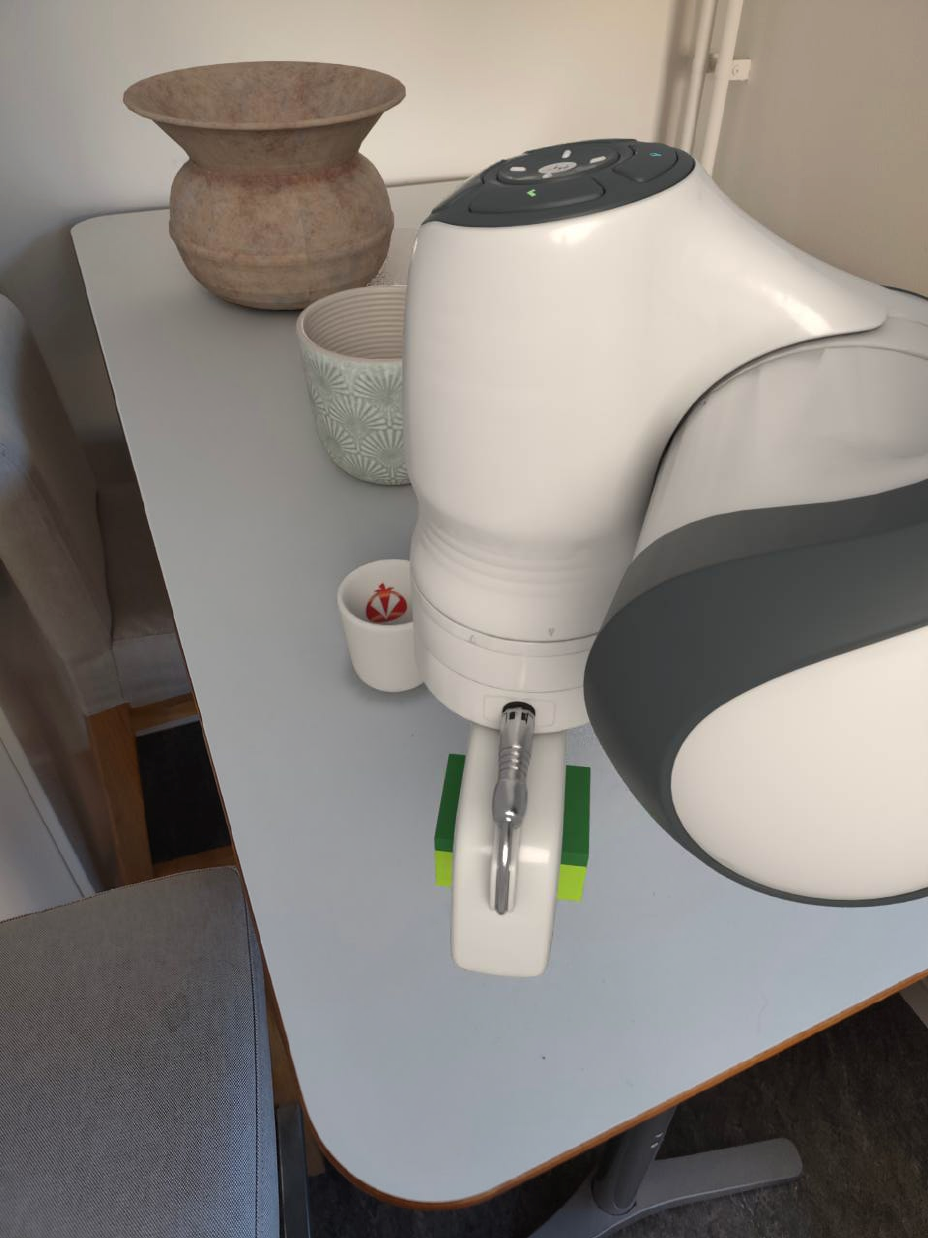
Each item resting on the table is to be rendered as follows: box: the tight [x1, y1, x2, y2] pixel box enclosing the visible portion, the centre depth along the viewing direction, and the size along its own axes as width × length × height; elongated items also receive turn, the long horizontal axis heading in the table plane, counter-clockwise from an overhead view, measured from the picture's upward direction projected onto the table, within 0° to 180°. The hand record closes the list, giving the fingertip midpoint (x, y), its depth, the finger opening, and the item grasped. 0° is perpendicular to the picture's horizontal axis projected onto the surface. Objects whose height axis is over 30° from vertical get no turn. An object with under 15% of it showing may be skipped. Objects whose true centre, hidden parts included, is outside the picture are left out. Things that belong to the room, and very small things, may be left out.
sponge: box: [433, 753, 592, 902], centre depth 42 cm, size 7×5×4 cm
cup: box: [336, 558, 425, 693], centre depth 66 cm, size 11×8×8 cm
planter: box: [295, 284, 411, 486], centre depth 85 cm, size 17×17×15 cm
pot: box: [122, 60, 407, 311], centre depth 115 cm, size 34×34×25 cm
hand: (514, 828), depth 42 cm, fingers closed on sponge, 5 cm apart
